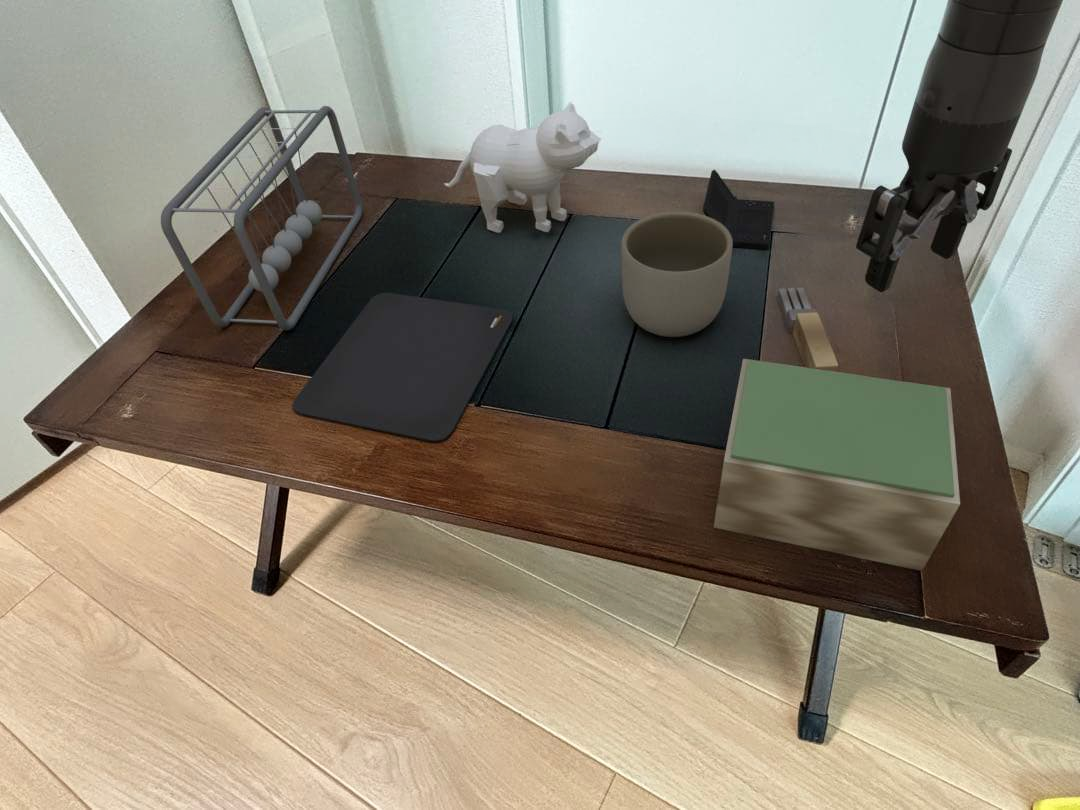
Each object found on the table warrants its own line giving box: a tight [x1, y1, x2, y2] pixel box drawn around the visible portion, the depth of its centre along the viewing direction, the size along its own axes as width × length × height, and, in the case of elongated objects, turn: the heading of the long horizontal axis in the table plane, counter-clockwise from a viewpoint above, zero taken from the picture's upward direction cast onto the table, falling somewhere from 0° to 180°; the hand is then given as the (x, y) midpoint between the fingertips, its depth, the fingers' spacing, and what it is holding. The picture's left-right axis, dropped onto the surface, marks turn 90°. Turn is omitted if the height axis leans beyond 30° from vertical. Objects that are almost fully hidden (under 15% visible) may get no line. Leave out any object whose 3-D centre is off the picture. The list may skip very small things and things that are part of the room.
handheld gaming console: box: [702, 169, 775, 250], centre depth 99 cm, size 12×7×10 cm
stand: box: [713, 358, 961, 572], centre depth 66 cm, size 18×13×10 cm
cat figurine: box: [443, 101, 602, 234], centre depth 101 cm, size 25×10×17 cm, turn 71°
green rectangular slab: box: [731, 359, 955, 498], centre depth 62 cm, size 17×12×1 cm
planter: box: [620, 210, 734, 338], centre depth 85 cm, size 12×12×11 cm
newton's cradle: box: [160, 105, 363, 331], centre depth 97 cm, size 30×10×18 cm, turn 170°
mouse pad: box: [291, 292, 514, 443], centre depth 87 cm, size 23×20×1 cm
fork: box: [776, 287, 839, 372], centre depth 83 cm, size 16×3×3 cm, turn 179°
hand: (909, 269), depth 67 cm, fingers open, 8 cm apart
